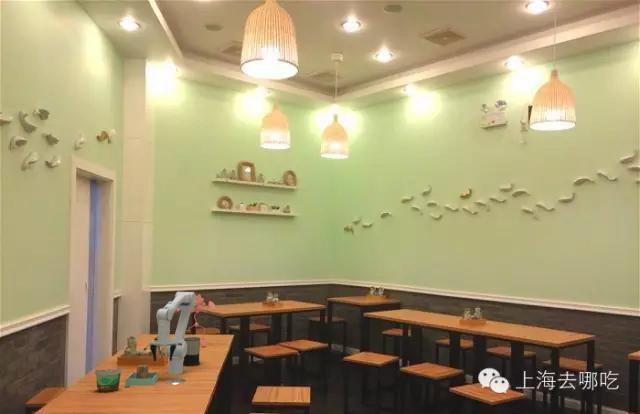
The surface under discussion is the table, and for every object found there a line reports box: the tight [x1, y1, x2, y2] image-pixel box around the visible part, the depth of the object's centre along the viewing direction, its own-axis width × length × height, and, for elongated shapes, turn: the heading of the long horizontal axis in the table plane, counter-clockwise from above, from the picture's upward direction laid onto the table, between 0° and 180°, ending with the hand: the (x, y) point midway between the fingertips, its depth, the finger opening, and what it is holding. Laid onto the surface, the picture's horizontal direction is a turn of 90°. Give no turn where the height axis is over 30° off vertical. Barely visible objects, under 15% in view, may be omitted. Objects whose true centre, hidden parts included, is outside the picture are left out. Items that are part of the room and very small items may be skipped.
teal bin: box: [124, 371, 160, 388], centre depth 277 cm, size 13×13×4 cm
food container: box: [94, 367, 123, 393], centre depth 263 cm, size 12×6×10 cm, turn 105°
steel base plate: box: [164, 378, 187, 385], centre depth 278 cm, size 10×10×1 cm
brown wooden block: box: [136, 364, 149, 379], centre depth 277 cm, size 5×6×8 cm
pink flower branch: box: [176, 293, 216, 347], centre depth 370 cm, size 15×26×35 cm, turn 88°
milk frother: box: [183, 336, 202, 367], centre depth 319 cm, size 14×16×15 cm
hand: (162, 360), depth 282 cm, fingers open, 7 cm apart
